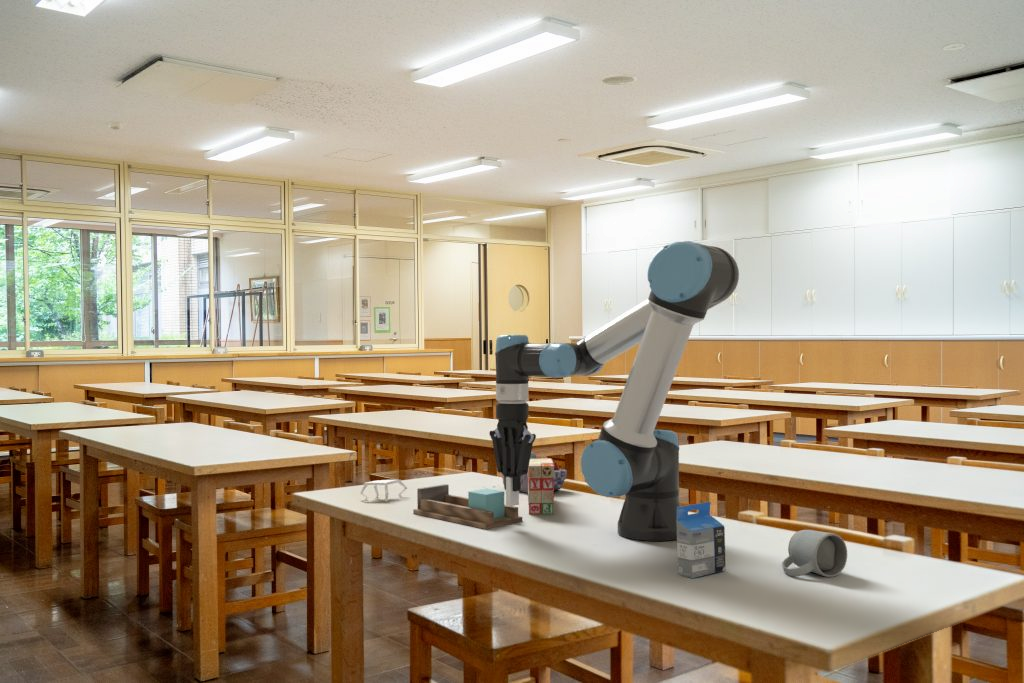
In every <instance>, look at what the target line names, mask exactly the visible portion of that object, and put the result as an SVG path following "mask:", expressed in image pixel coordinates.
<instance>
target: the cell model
mask: <svg viewBox="0 0 1024 683" xmlns="http://www.w3.org/2000/svg"><path fill="white" fill-rule="evenodd" d="M530 459H538V458H537V455H536V453H534V452H531V456H530ZM553 465H554V492H557V491H559V490H561V489H562V487H563V485H564V483H565V480H566V479H567V474H568V471H567V469H565V468H559V466H558V464H557V462H553ZM501 478H502V483H503V484H502V485H504V476H503V474H502V473H501ZM520 485H521V489H520V491H519V492H521V493H524V492H525V493H527V494H528V477H527V474H525V475H522V476H521V484H520Z"/></svg>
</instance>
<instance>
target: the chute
mask: <svg viewBox="0 0 1024 683" xmlns="http://www.w3.org/2000/svg"><path fill="white" fill-rule="evenodd" d="M449 486H450V485H449V484H447V483H444V484H437V485H430V486H426V487H419V488H417V495H416V496H417V504H416V505H417V508H414V509H413V513H412V514H414V515H419V516H422V517H427V518H428V517H429V518H432V519H436V520H441V521H446V522H451V523H456V524H461V525H465V526H468V525H469V527H473V526H474V527H475V528H479V529H482V528H483V530H488V529H489V530H490V529H492V528H493V527H494V528H498V527H502V526H508V525H510V524H516V523H521V522H523V516H520V515H519V506H516V505H515V506H506V504H504V517H501V518H497V519H494V512H491V511H486V510H480V509H475V508H470V507H469V506H468V497H466V496H465V497H463V496H459V495H453V494H449V489H450V488H449Z"/></svg>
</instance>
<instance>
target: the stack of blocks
mask: <svg viewBox="0 0 1024 683" xmlns="http://www.w3.org/2000/svg"><path fill="white" fill-rule="evenodd" d="M553 463H554V462H553V459H552V458H537V459H530V462H529V468H528V473H527V477H528V493H527V501H528V515H554V513H555V501H554V500H555V499H554V498H555V494H554V493H555V491H554V465H553Z"/></svg>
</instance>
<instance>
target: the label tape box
mask: <svg viewBox="0 0 1024 683" xmlns="http://www.w3.org/2000/svg"><path fill="white" fill-rule="evenodd" d="M711 503H712V502H711V501H707V502H699V503H694V504H686V505H681V507H677V520H676V524H677V539H676V549H677V550H676V552H677V555H676V556H677V574H678V575H680V576H682V577H685V578H691V579H694V578H699V577H703V576H707V575H711V574H715V573H716V574H717V573H721V572H723V571H726V567H727V566H726V539H725V538H726V537H725V536H726V533H725V532H726V531H725V530H726V529H725V525H724V524H723V523H722V522H720V521H719V520H718V519H716V518H715V517H714V516H712V515H711V514H710V513H711V512H710V511H711ZM693 510H694V511H698V512H695V513H691V514H690V513H689V512H693Z"/></svg>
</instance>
